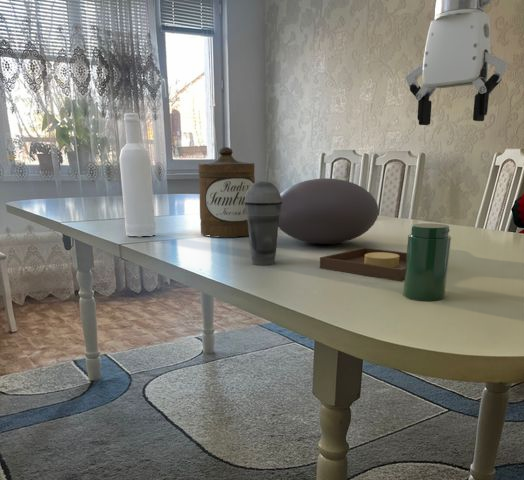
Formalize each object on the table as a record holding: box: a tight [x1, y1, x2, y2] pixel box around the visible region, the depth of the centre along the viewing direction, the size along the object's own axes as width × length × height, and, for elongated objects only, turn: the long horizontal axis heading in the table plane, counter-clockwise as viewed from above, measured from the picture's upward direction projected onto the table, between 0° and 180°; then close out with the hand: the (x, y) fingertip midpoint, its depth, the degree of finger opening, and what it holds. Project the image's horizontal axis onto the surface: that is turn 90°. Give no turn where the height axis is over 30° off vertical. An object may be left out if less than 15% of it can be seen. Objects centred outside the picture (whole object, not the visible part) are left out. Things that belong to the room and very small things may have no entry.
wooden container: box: [197, 146, 256, 238], centre depth 143 cm, size 15×15×22 cm
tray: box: [319, 246, 407, 282], centre depth 102 cm, size 17×15×2 cm
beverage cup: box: [244, 155, 282, 266], centre depth 104 cm, size 7×7×20 cm
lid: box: [364, 252, 400, 267], centre depth 102 cm, size 6×6×2 cm
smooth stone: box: [278, 178, 379, 245], centre depth 128 cm, size 25×25×15 cm
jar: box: [402, 222, 452, 302], centre depth 80 cm, size 6×6×10 cm
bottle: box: [119, 112, 157, 236], centre depth 140 cm, size 8×8×30 cm
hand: (450, 122), depth 93 cm, fingers open, 9 cm apart
